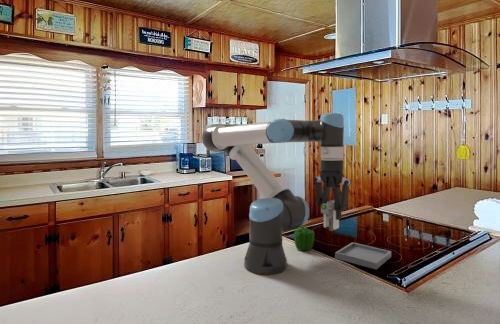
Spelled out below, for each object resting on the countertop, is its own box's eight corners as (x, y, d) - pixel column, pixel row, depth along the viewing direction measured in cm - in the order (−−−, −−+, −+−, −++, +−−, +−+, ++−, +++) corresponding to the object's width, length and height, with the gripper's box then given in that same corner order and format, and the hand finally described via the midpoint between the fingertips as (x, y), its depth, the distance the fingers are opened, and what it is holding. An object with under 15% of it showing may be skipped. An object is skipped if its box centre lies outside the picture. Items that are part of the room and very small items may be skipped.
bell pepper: (311, 245, 139) (312, 222, 138) (316, 252, 131) (317, 227, 130) (291, 245, 138) (292, 222, 137) (295, 252, 130) (295, 227, 129)
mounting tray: (334, 258, 125) (335, 252, 124) (352, 247, 136) (352, 242, 136) (376, 269, 115) (376, 263, 114) (391, 256, 126) (391, 251, 126)
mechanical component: (319, 232, 111) (319, 203, 110) (335, 226, 118) (335, 199, 117) (326, 234, 109) (326, 204, 108) (342, 228, 116) (343, 200, 115)
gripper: (305, 159, 114) (305, 225, 116) (348, 161, 103) (347, 234, 105) (317, 157, 120) (317, 221, 121) (359, 159, 109) (358, 229, 110)
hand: (331, 227), depth 113 cm, fingers closed on mechanical component, 3 cm apart
